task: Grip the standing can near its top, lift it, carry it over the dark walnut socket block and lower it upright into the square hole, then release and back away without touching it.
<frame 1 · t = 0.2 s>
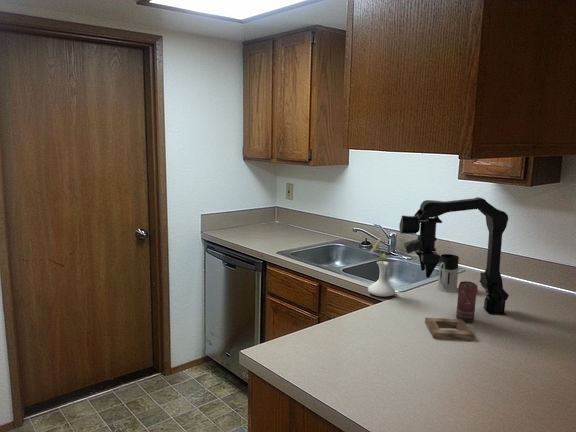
hand: (425, 273, 177), 14 cm above the worktop, tool pointing down, fingers open, 9 cm apart
socket block: (448, 331, 160), on the worktop
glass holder: (444, 291, 202), on the worktop
flower in vase: (380, 295, 195), on the worktop
can: (465, 320, 170), on the worktop
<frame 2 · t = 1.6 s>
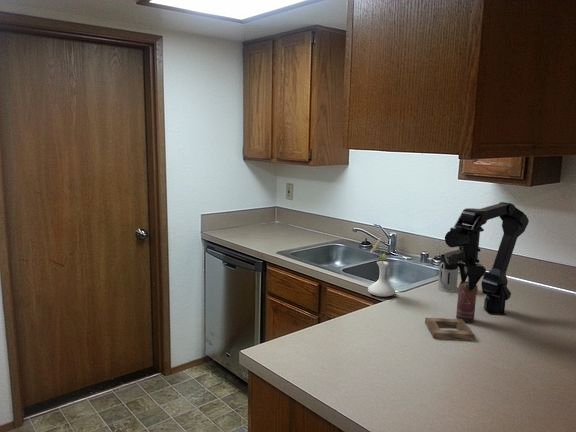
hand: (466, 286, 168), 13 cm above the worktop, tool pointing down, fingers open, 9 cm apart
nothing on the worktop moved.
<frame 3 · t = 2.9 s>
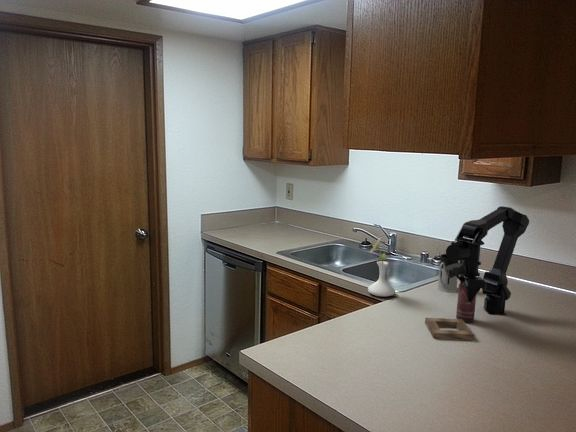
hand: (467, 299, 168), 8 cm above the worktop, tool pointing down, fingers closed on can, 5 cm apart
can: (465, 320, 170), on the worktop, touching gripper
everything else where it was.
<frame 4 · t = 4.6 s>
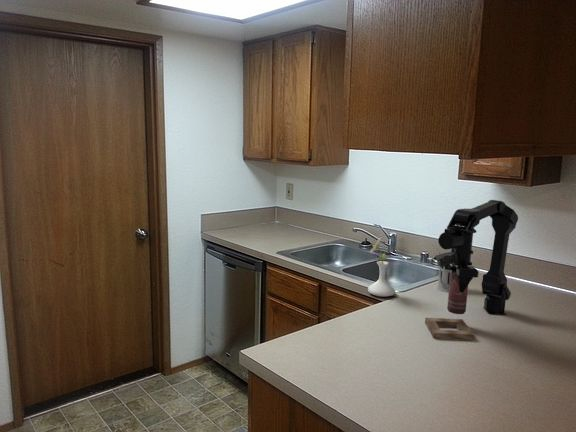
hand: (458, 289, 162), 13 cm above the worktop, tool pointing down, fingers closed on can, 5 cm apart
can: (456, 312, 163), point 5 cm above the worktop, touching gripper
everything else where it was.
when the fingers open (9 cm above the worktop, at t = 6.4 s): can drops 1 cm, resting in socket block.
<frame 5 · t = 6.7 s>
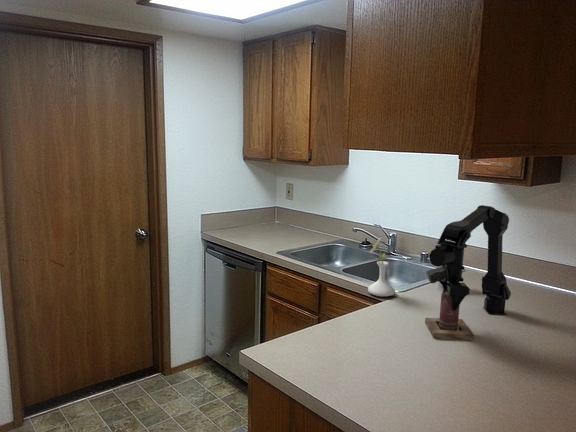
hand: (450, 305, 158), 9 cm above the worktop, tool pointing down, fingers open, 8 cm apart
can: (448, 331, 160), resting in socket block
everything else where it was.
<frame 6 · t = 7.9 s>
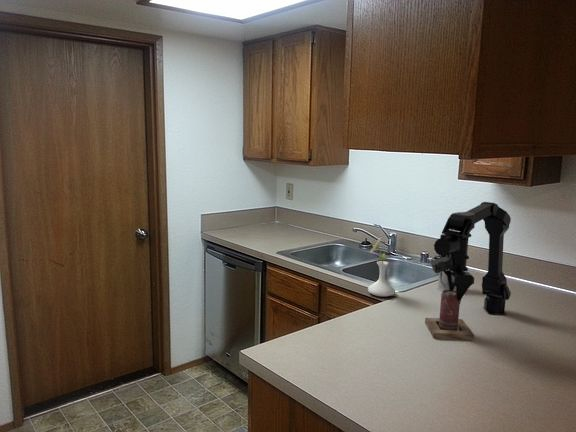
hand: (454, 295, 157), 13 cm above the worktop, tool pointing down, fingers open, 9 cm apart
nothing on the worktop moved.
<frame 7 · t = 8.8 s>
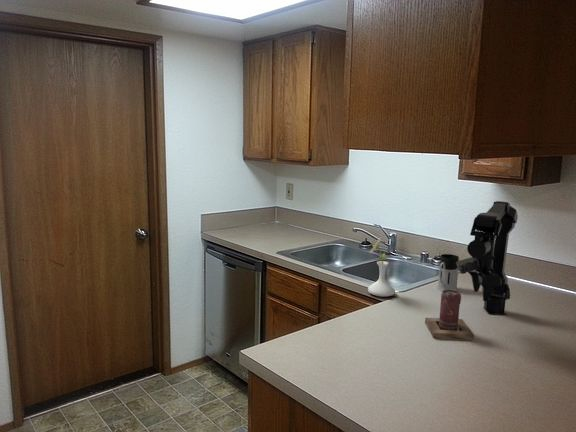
hand: (480, 296, 158), 13 cm above the worktop, tool pointing down, fingers open, 9 cm apart
nothing on the worktop moved.
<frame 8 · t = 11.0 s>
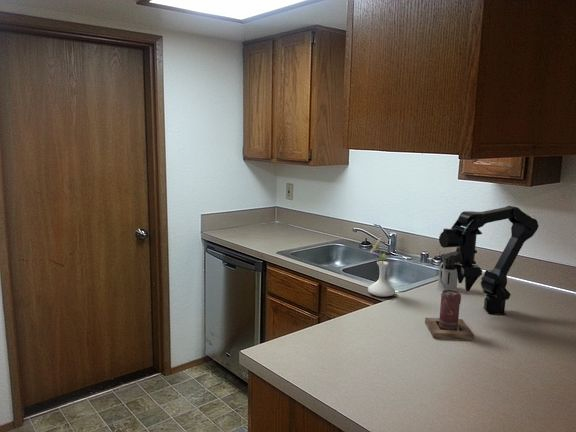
hand: (463, 286, 173), 11 cm above the worktop, tool pointing down, fingers open, 9 cm apart
nothing on the worktop moved.
at the end: can 0.1 cm off-centre on the socket block, point 0.0 cm above the socket block's base; can tilted 0°; the gripper is holding nothing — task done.
